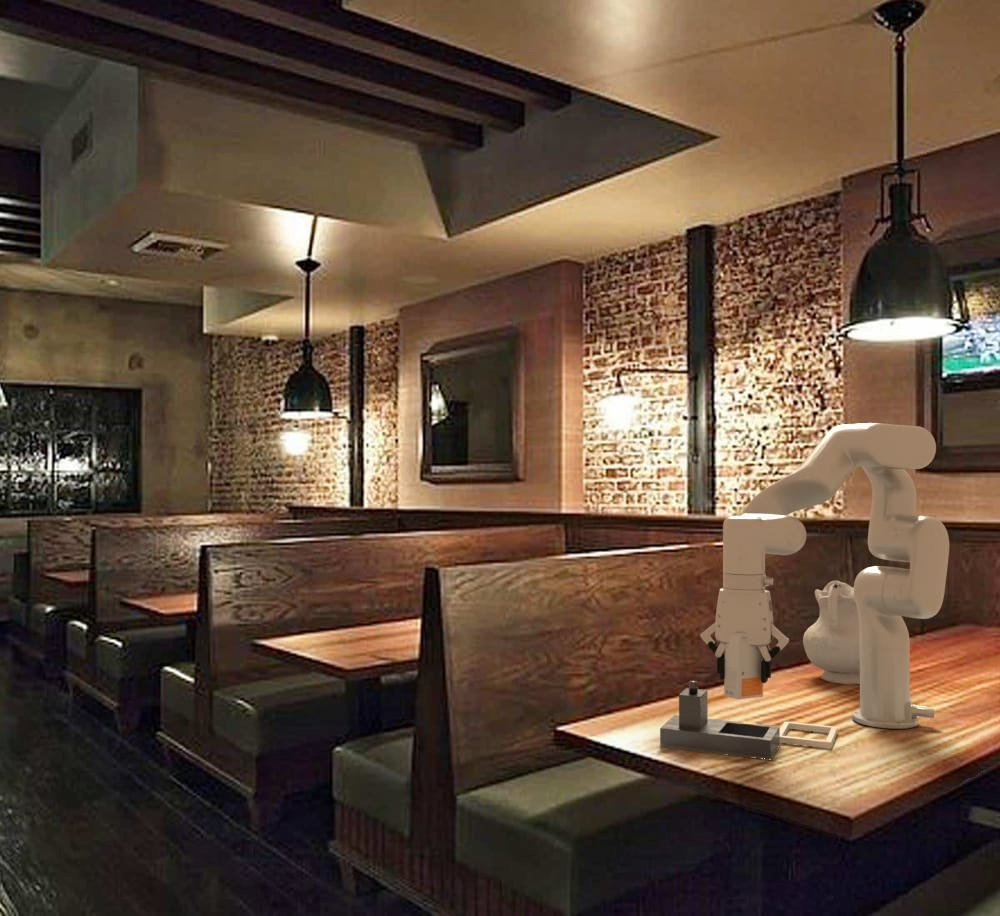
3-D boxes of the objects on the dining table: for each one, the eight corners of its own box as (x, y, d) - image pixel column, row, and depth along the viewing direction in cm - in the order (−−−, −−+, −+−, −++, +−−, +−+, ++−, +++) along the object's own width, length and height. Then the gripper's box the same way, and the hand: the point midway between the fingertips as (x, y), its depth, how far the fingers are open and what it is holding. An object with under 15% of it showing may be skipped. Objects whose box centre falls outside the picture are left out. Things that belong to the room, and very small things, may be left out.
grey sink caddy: (779, 745, 179) (779, 683, 179) (770, 760, 170) (770, 695, 170) (674, 733, 188) (674, 674, 188) (660, 746, 178) (659, 684, 178)
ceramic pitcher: (885, 697, 222) (894, 590, 222) (797, 684, 229) (805, 580, 228) (882, 679, 242) (890, 581, 242) (802, 667, 249) (809, 572, 249)
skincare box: (739, 700, 174) (739, 634, 174) (723, 695, 177) (723, 630, 178) (764, 697, 176) (764, 631, 177) (748, 692, 180) (748, 628, 180)
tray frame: (837, 732, 188) (837, 726, 188) (831, 749, 177) (831, 742, 177) (784, 727, 192) (784, 721, 192) (775, 742, 181) (775, 736, 181)
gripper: (795, 583, 177) (795, 680, 177) (701, 578, 184) (701, 671, 184) (789, 587, 170) (789, 688, 170) (692, 582, 178) (692, 679, 177)
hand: (743, 679), depth 177 cm, fingers closed on skincare box, 6 cm apart
